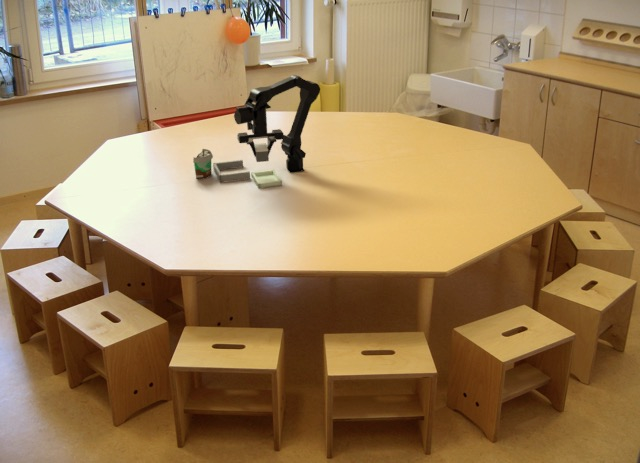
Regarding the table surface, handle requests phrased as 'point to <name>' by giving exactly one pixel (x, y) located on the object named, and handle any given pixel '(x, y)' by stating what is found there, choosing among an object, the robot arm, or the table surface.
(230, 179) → the bay
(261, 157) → the beige gray rectangular block
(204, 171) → the food container
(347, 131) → the table surface
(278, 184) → the tray
